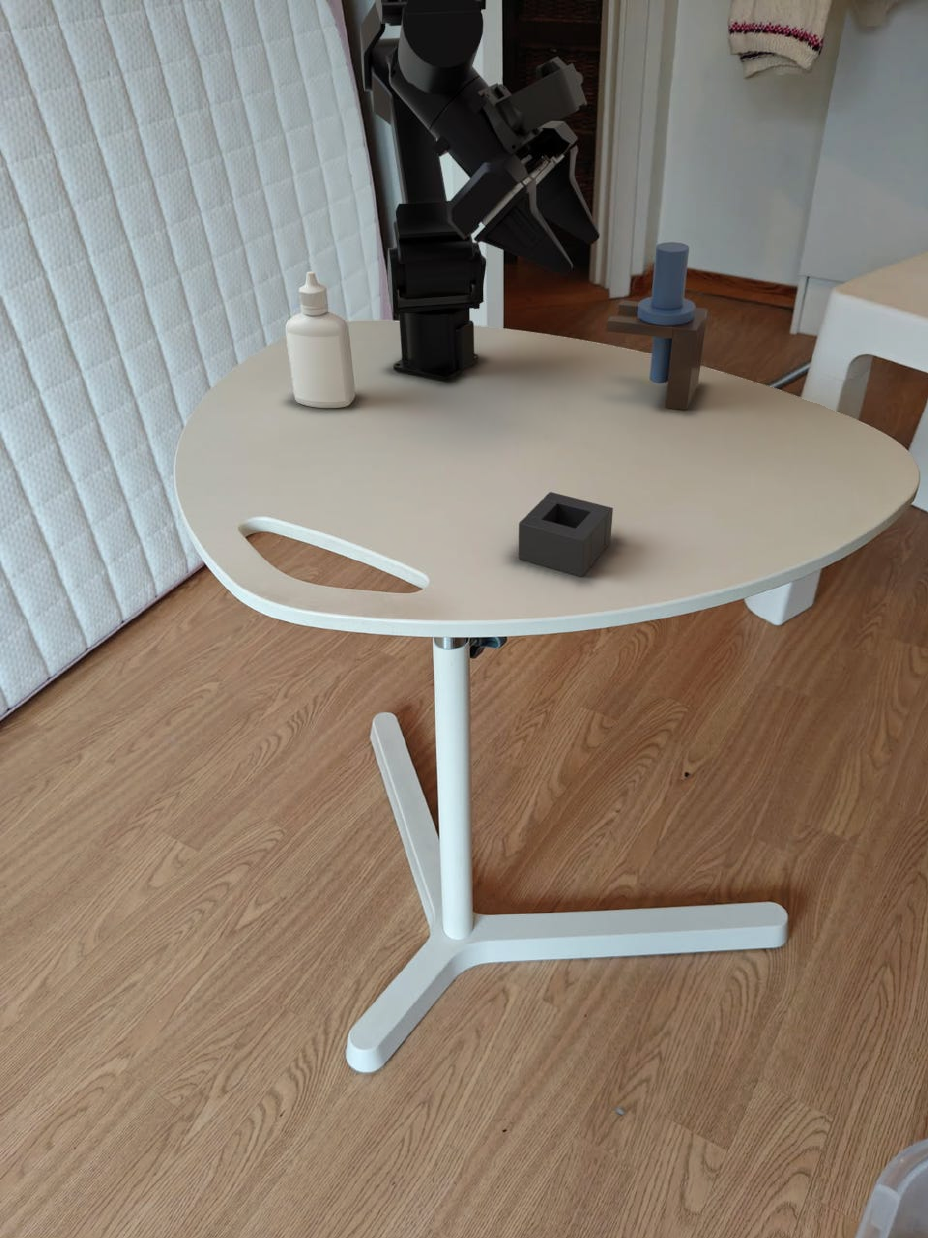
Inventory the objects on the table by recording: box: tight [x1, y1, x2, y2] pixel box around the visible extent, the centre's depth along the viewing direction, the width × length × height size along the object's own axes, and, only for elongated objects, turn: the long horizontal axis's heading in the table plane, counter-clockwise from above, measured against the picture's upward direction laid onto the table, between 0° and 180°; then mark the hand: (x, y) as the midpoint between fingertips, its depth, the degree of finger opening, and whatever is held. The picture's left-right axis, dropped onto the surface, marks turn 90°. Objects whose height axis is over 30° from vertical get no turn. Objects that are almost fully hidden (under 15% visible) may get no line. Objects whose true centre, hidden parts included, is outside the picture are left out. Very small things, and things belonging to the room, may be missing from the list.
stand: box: [605, 300, 708, 411], centre depth 90 cm, size 8×6×8 cm
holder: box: [518, 491, 614, 578], centre depth 70 cm, size 5×5×3 cm
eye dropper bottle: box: [285, 270, 356, 409], centre depth 89 cm, size 4×6×12 cm
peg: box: [637, 241, 697, 384], centre depth 87 cm, size 5×5×12 cm
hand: (582, 255), depth 82 cm, fingers open, 9 cm apart
